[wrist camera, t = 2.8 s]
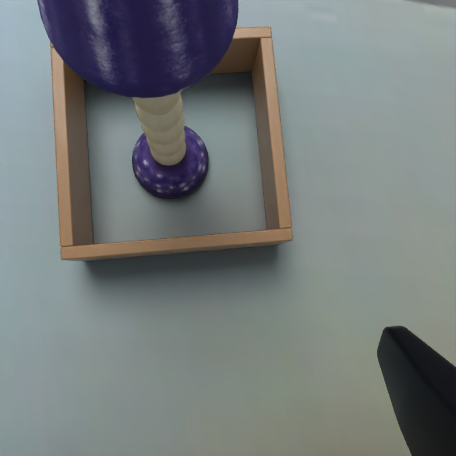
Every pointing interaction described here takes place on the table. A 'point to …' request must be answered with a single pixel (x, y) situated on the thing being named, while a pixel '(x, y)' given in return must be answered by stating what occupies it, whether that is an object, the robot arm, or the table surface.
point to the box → (86, 251)
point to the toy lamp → (148, 71)
